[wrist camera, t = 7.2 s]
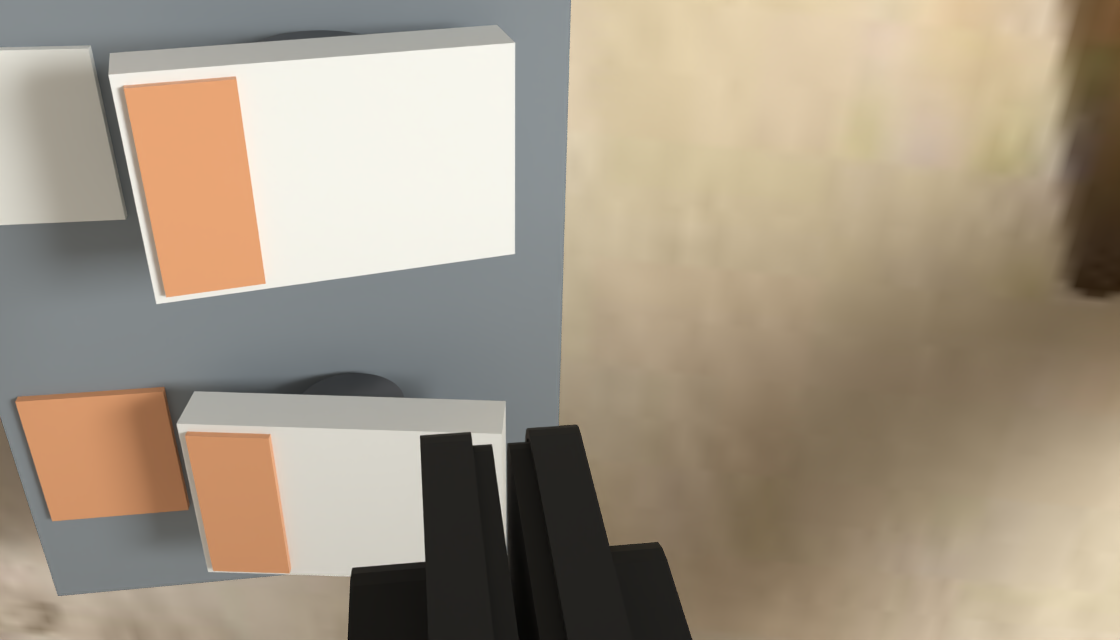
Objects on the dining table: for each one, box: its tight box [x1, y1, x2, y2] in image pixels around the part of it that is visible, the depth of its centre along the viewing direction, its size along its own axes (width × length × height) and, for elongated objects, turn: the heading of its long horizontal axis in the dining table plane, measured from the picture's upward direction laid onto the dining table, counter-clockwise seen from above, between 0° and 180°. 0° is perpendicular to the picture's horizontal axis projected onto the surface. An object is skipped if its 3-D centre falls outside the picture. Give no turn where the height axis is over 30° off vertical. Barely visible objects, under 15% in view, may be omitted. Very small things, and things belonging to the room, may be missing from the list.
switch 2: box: [177, 373, 506, 577], centre depth 24 cm, size 7×4×3 cm, turn 89°
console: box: [0, 0, 571, 596], centre depth 23 cm, size 13×25×4 cm, turn 179°
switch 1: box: [108, 25, 515, 304], centre depth 20 cm, size 7×4×3 cm, turn 89°
